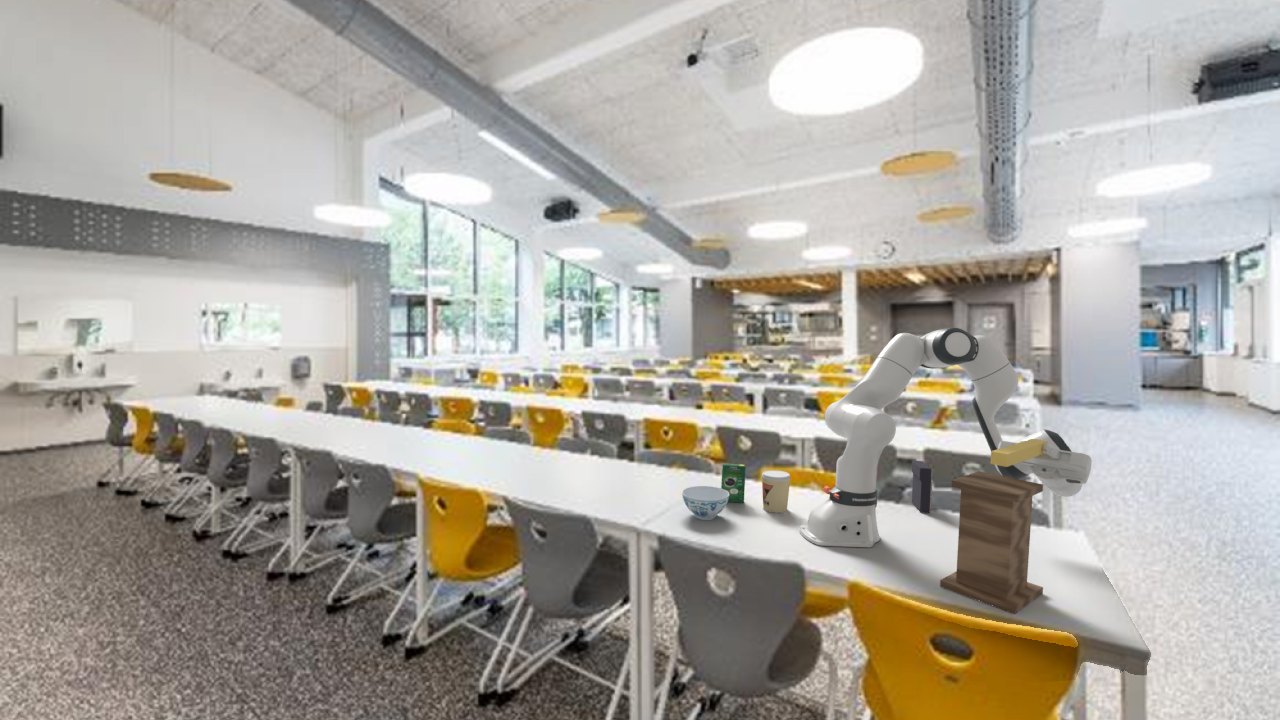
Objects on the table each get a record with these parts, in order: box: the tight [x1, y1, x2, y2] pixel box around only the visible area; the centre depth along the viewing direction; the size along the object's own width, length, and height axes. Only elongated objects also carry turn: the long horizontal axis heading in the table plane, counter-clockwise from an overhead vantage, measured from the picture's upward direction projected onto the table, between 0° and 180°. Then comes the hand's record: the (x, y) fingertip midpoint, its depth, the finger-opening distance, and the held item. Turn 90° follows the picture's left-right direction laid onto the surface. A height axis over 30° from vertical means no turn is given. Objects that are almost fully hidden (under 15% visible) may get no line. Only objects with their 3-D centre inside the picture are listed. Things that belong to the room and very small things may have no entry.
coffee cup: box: [761, 469, 791, 514], centre depth 195 cm, size 9×9×12 cm
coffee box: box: [720, 463, 747, 504], centre depth 202 cm, size 8×3×13 cm, turn 85°
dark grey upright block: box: [910, 459, 933, 514], centre depth 197 cm, size 11×4×15 cm, turn 168°
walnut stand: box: [939, 470, 1044, 615], centre depth 137 cm, size 16×16×26 cm
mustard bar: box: [989, 439, 1048, 467], centre depth 143 cm, size 24×4×3 cm, turn 127°
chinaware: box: [681, 485, 729, 521], centre depth 187 cm, size 15×15×8 cm
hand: (1033, 445), depth 148 cm, fingers closed on mustard bar, 3 cm apart
